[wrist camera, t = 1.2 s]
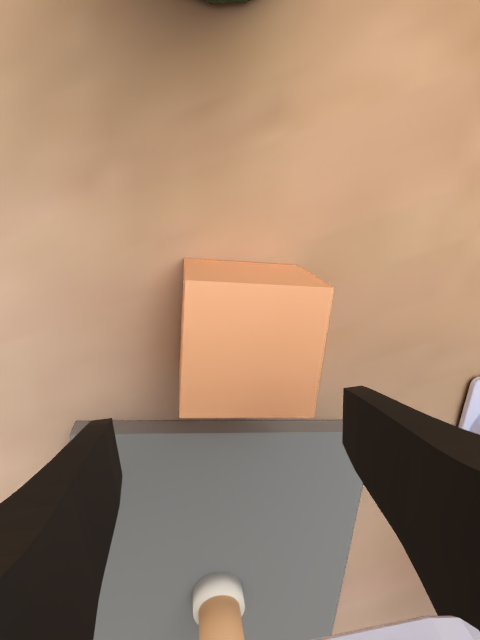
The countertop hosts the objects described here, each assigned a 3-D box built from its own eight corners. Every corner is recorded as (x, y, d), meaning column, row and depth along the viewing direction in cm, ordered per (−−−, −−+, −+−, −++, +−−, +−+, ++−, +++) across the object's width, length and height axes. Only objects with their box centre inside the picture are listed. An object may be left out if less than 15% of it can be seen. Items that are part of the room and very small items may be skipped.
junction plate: (364, 420, 23) (407, 473, 19) (320, 640, 28) (346, 723, 24) (75, 421, 21) (47, 483, 16) (86, 663, 26) (67, 760, 22)
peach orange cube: (297, 264, 20) (334, 287, 15) (284, 368, 21) (313, 417, 17) (184, 258, 19) (185, 279, 14) (179, 366, 21) (179, 418, 16)
